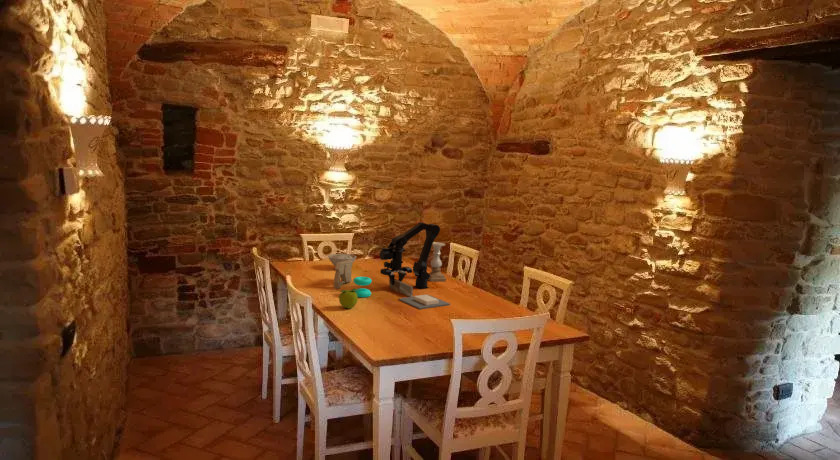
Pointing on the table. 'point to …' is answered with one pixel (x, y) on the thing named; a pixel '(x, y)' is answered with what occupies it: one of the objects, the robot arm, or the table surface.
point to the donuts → (363, 282)
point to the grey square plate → (420, 305)
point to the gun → (342, 273)
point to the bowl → (341, 258)
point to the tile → (426, 299)
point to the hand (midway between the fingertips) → (395, 285)
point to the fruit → (348, 298)
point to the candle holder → (436, 264)
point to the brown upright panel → (401, 287)
